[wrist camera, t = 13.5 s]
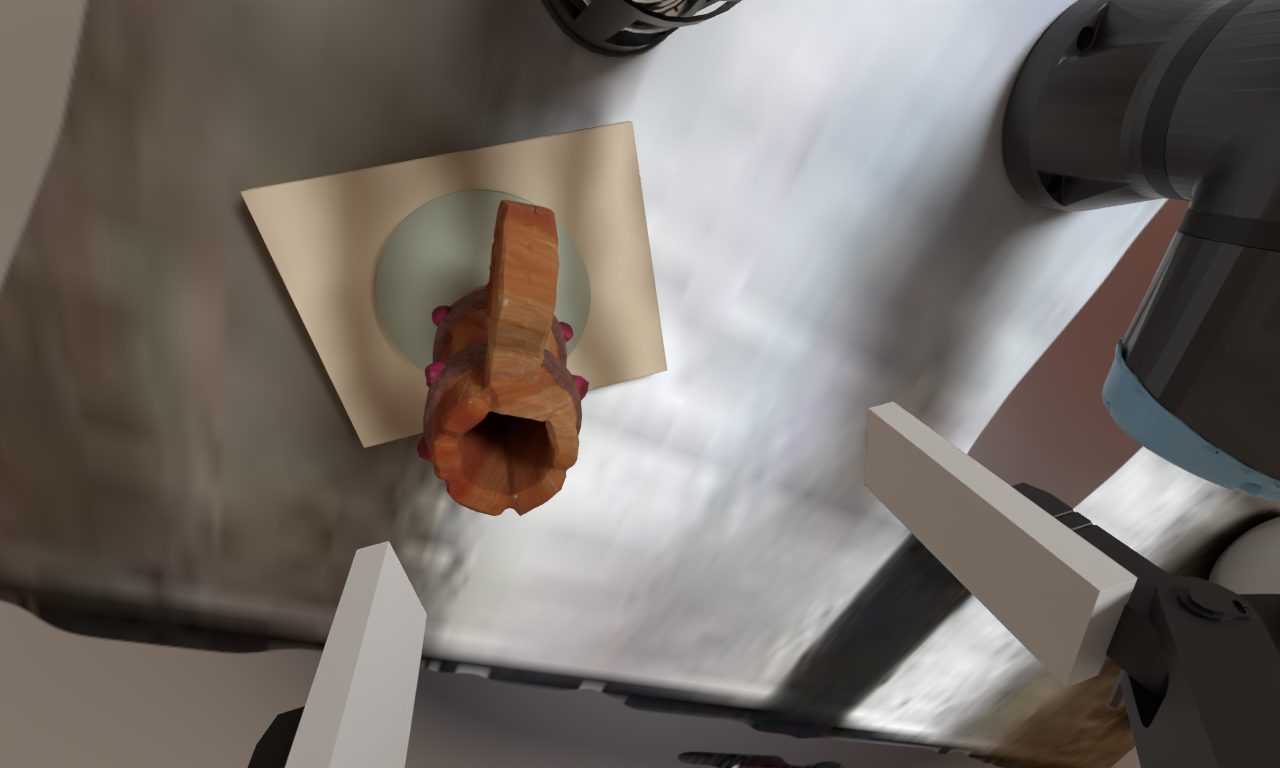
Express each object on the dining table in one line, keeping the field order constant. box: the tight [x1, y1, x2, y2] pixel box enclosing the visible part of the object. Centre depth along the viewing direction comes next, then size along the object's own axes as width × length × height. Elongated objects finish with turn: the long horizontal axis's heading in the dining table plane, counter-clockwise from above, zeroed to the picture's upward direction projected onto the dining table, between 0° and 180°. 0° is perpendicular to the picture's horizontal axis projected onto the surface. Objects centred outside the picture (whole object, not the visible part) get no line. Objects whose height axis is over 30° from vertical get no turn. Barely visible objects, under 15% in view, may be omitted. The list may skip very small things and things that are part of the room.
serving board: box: [241, 121, 667, 448], centre depth 35 cm, size 22×17×2 cm
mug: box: [417, 200, 589, 516], centre depth 28 cm, size 15×8×15 cm, turn 167°
